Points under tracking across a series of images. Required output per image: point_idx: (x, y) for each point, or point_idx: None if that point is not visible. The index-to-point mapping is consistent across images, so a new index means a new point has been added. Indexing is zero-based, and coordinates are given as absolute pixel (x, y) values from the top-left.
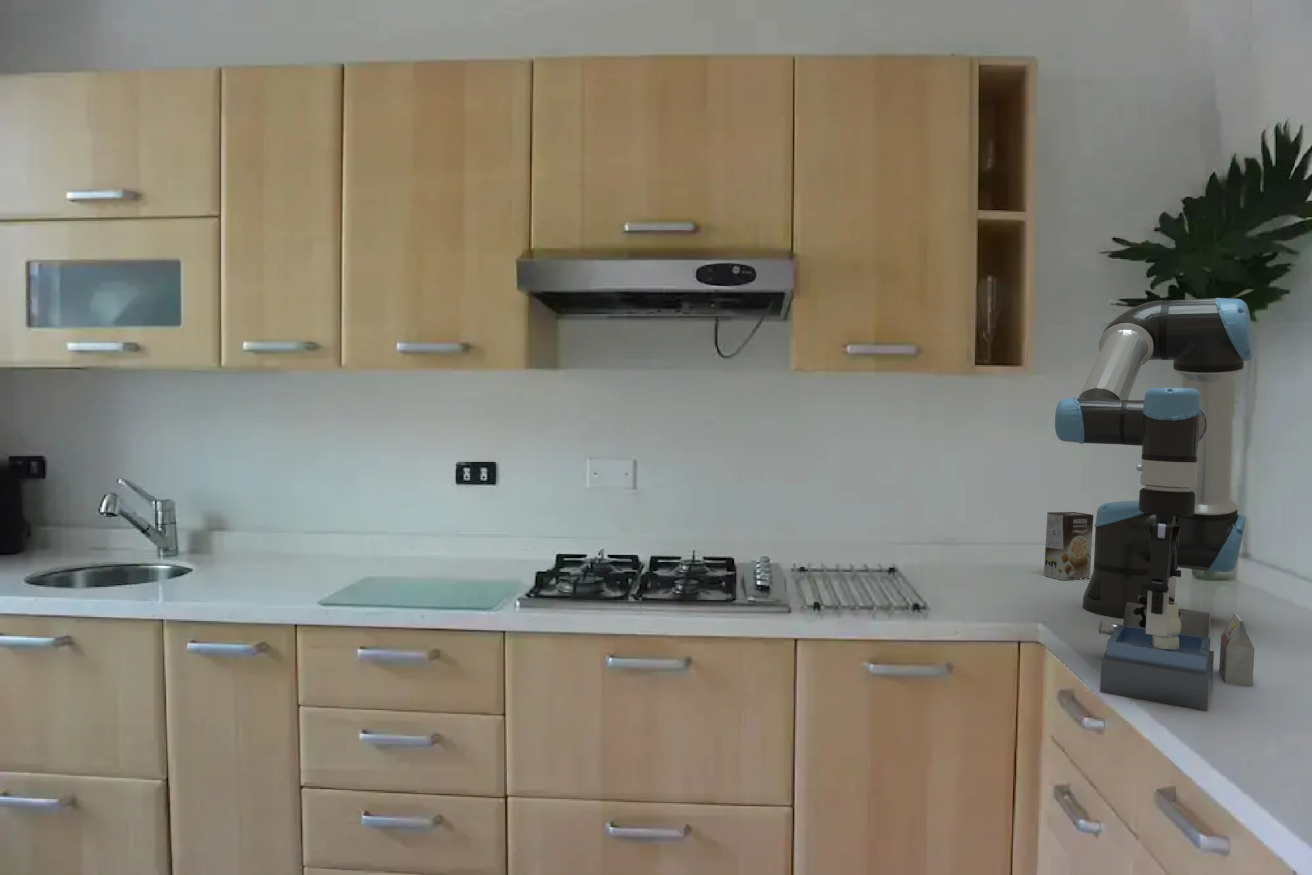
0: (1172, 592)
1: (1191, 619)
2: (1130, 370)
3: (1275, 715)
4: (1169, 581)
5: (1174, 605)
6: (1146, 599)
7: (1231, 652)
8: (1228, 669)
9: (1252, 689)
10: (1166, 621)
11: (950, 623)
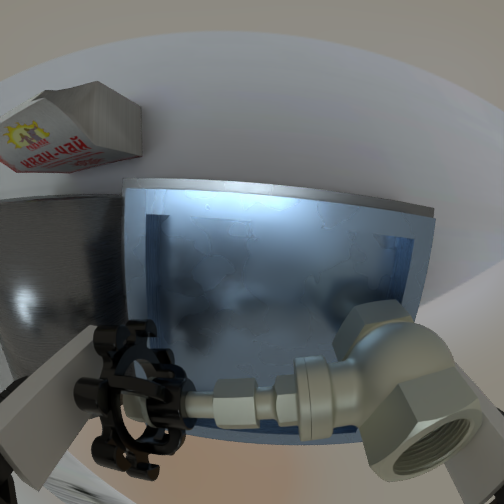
0: (44, 398)
1: (40, 257)
2: None
3: (348, 79)
4: (20, 443)
5: (480, 409)
6: (137, 459)
7: (104, 135)
8: (127, 146)
9: (166, 104)
10: (471, 382)
11: (113, 488)
